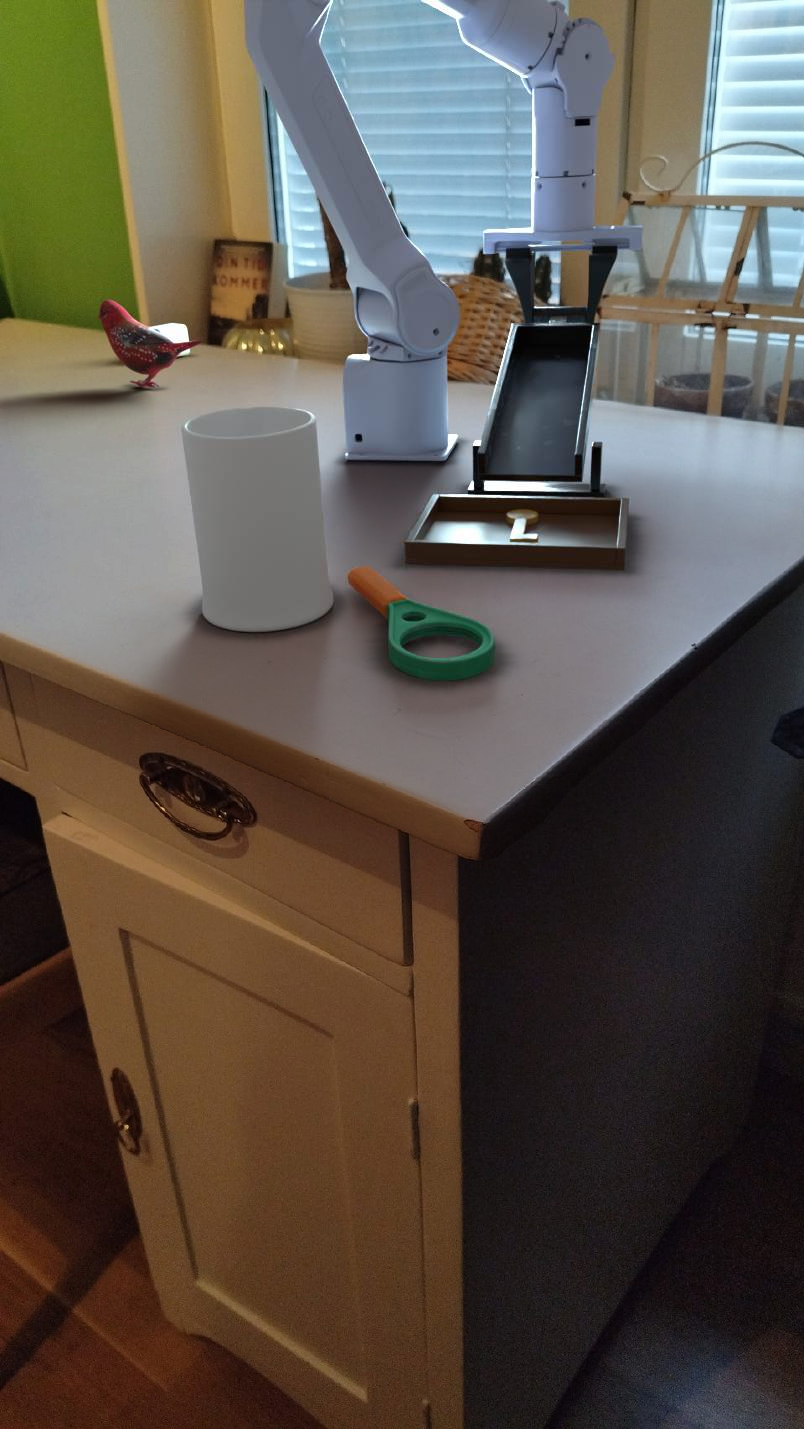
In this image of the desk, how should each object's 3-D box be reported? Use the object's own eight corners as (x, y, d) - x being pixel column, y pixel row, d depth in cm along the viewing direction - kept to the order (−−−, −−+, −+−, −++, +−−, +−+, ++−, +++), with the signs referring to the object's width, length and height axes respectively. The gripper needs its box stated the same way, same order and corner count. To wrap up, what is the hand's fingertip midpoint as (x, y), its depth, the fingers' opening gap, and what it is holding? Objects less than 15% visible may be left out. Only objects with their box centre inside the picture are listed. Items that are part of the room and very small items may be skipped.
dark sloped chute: (478, 480, 86) (477, 453, 84) (519, 322, 107) (518, 298, 106) (582, 482, 84) (582, 454, 83) (602, 322, 106) (603, 297, 104)
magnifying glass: (515, 666, 62) (516, 639, 62) (419, 690, 60) (419, 662, 59) (402, 581, 75) (401, 558, 74) (319, 599, 72) (317, 575, 72)
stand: (467, 494, 91) (466, 446, 89) (471, 486, 93) (471, 439, 92) (604, 497, 89) (606, 448, 87) (605, 488, 91) (607, 440, 89)
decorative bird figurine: (117, 380, 140) (103, 297, 136) (217, 393, 131) (206, 304, 126) (99, 384, 138) (85, 300, 134) (199, 398, 129) (188, 308, 124)
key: (499, 545, 79) (499, 538, 79) (508, 515, 85) (508, 508, 85) (537, 546, 79) (537, 539, 78) (543, 515, 84) (543, 509, 84)
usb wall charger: (190, 355, 153) (186, 325, 151) (149, 363, 149) (144, 332, 147) (173, 352, 155) (169, 322, 153) (132, 360, 151) (127, 330, 149)
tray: (405, 563, 78) (404, 541, 77) (432, 513, 87) (432, 493, 87) (624, 570, 75) (625, 548, 74) (628, 518, 84) (629, 497, 84)
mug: (169, 585, 76) (142, 409, 70) (283, 560, 79) (266, 390, 74) (230, 644, 67) (205, 447, 61) (356, 613, 70) (343, 424, 64)
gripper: (646, 170, 102) (637, 324, 108) (489, 176, 104) (490, 326, 111) (645, 174, 96) (636, 337, 102) (479, 180, 98) (481, 339, 105)
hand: (560, 332), depth 106 cm, fingers closed on dark sloped chute, 5 cm apart
